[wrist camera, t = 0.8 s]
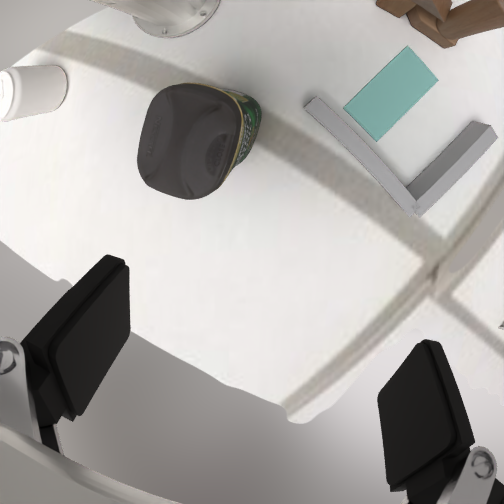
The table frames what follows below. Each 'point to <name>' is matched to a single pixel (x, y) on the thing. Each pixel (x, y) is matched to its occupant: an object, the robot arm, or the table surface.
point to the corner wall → (431, 179)
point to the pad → (391, 93)
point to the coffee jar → (195, 138)
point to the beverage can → (30, 91)
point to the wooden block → (448, 17)
